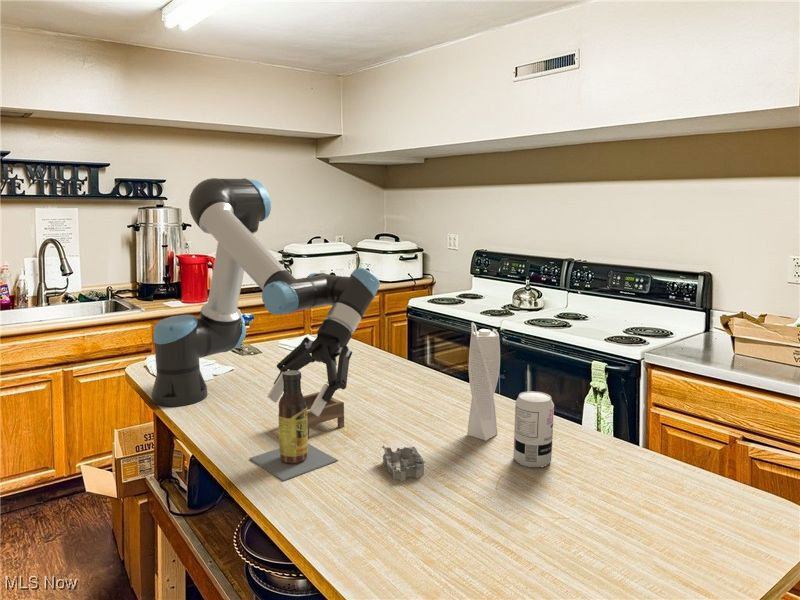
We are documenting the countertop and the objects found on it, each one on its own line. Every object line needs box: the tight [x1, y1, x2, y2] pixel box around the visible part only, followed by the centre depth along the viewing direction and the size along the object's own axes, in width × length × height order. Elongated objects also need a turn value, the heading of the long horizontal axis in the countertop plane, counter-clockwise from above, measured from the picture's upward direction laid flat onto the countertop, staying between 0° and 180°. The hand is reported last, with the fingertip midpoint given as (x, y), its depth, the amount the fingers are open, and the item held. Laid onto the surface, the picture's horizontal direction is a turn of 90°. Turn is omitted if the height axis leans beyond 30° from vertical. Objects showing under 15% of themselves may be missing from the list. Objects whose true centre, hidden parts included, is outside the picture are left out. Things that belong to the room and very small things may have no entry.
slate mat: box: [249, 443, 339, 482], centre depth 132 cm, size 14×14×1 cm
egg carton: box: [381, 445, 426, 482], centre depth 128 cm, size 11×8×4 cm
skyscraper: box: [466, 321, 501, 442], centre depth 144 cm, size 8×8×28 cm
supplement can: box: [513, 390, 555, 468], centre depth 131 cm, size 8×8×15 cm
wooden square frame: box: [303, 391, 345, 439], centre depth 150 cm, size 11×12×6 cm
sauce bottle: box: [277, 370, 309, 464], centre depth 130 cm, size 6×6×20 cm
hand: (292, 406), depth 130 cm, fingers open, 13 cm apart
